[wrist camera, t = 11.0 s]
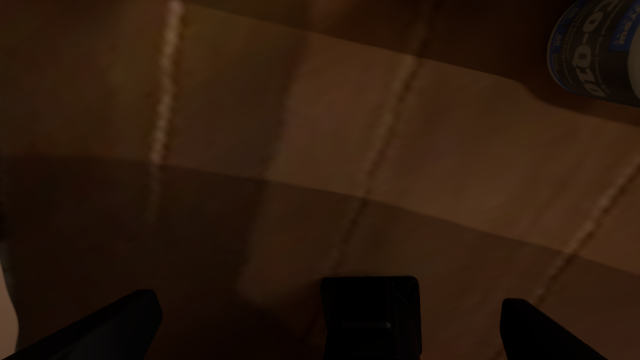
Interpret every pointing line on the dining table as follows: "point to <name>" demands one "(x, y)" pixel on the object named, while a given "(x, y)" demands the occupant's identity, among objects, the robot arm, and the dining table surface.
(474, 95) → the dining table surface
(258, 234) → the dining table surface
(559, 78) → the pill bottle
